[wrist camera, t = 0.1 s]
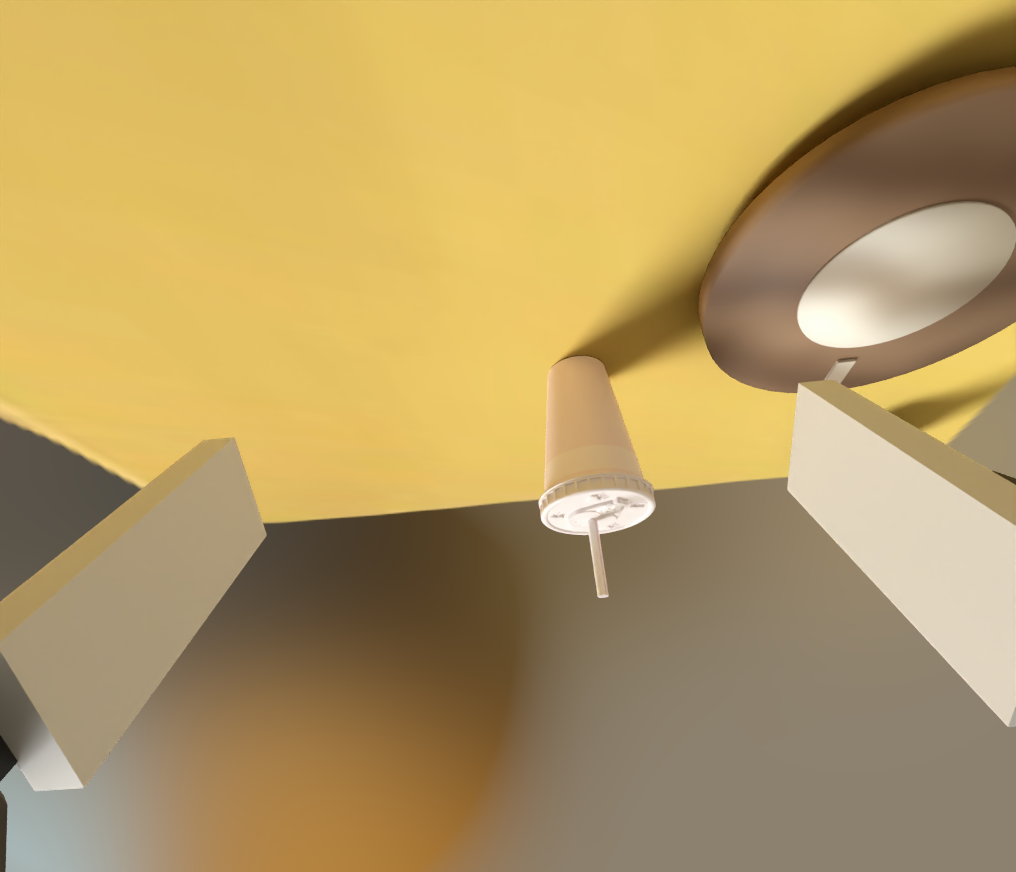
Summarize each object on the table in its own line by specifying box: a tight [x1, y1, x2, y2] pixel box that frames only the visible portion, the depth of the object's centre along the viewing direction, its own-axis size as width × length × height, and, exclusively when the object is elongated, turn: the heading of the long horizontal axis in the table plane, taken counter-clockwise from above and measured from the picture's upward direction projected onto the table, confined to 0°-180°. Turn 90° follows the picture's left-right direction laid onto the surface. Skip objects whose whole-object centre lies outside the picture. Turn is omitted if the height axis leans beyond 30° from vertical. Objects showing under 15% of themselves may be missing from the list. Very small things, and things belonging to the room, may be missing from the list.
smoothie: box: [539, 356, 655, 598], centre depth 32 cm, size 6×6×14 cm
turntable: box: [698, 66, 1016, 393], centre depth 27 cm, size 18×18×2 cm
